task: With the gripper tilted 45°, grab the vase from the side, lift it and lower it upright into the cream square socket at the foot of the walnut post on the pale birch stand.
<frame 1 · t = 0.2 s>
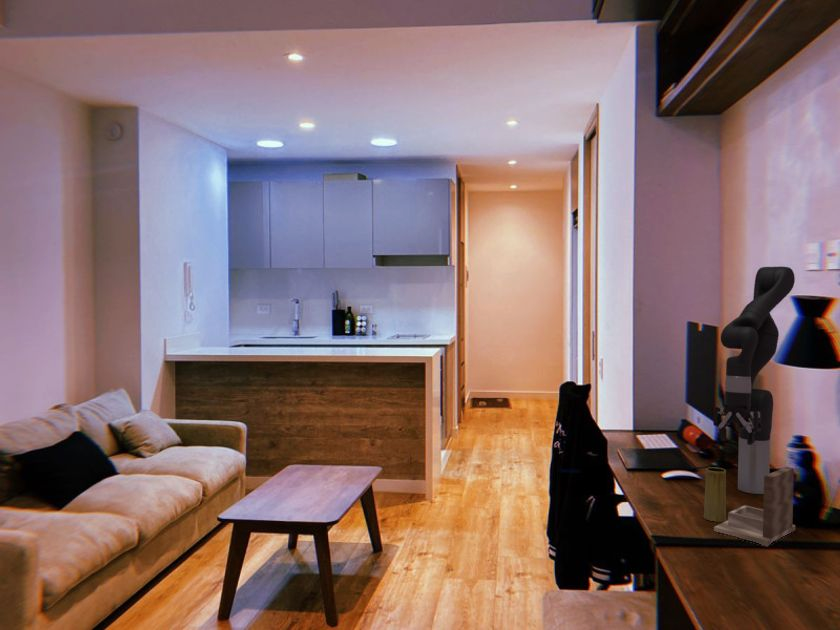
hand: (736, 442, 219), 18 cm above the table, tool pointing down, fingers open, 8 cm apart
vase: (714, 519, 201), on the table
post stand: (754, 531, 191), on the table
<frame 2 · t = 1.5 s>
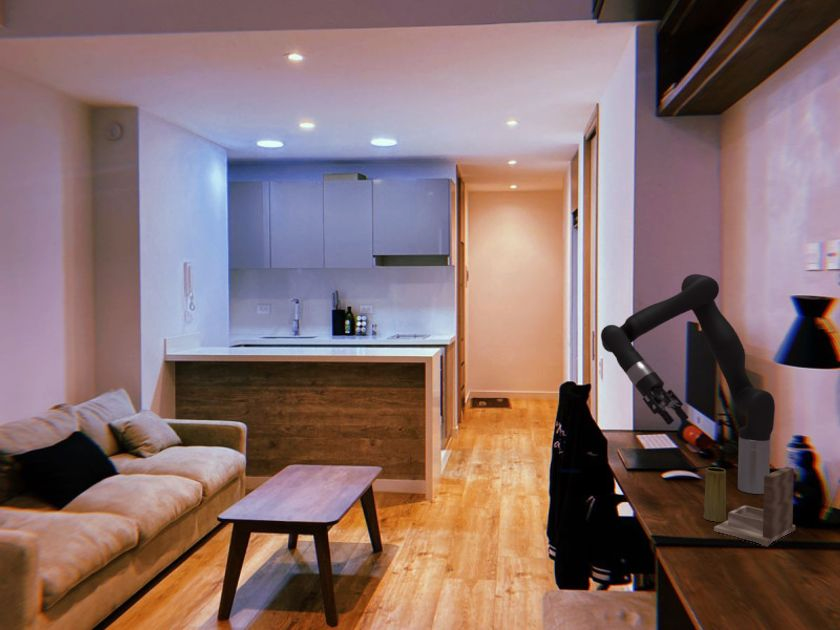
hand: (678, 421, 209), 26 cm above the table, tool tilted 45°, fingers open, 8 cm apart
nothing on the table moved.
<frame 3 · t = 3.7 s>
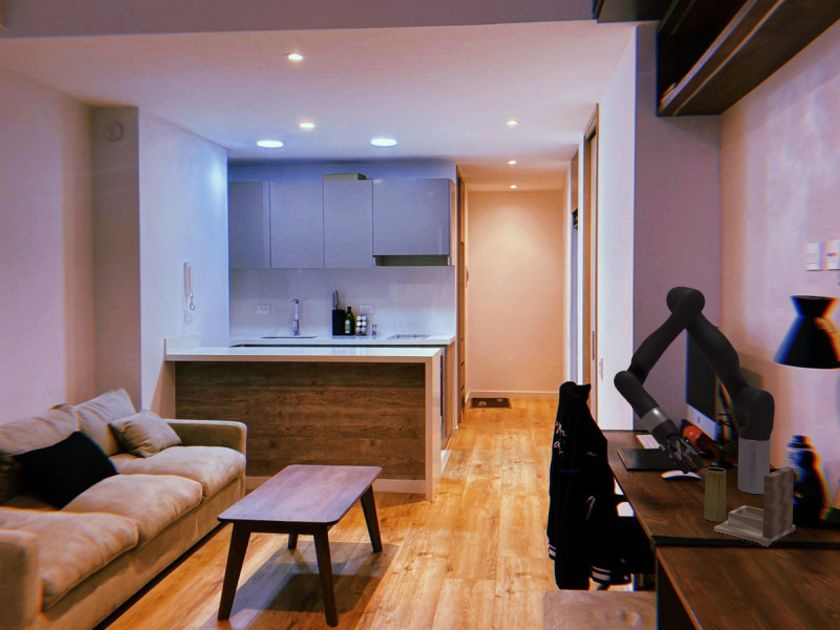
hand: (695, 470, 205), 13 cm above the table, tool tilted 45°, fingers open, 8 cm apart
nothing on the table moved.
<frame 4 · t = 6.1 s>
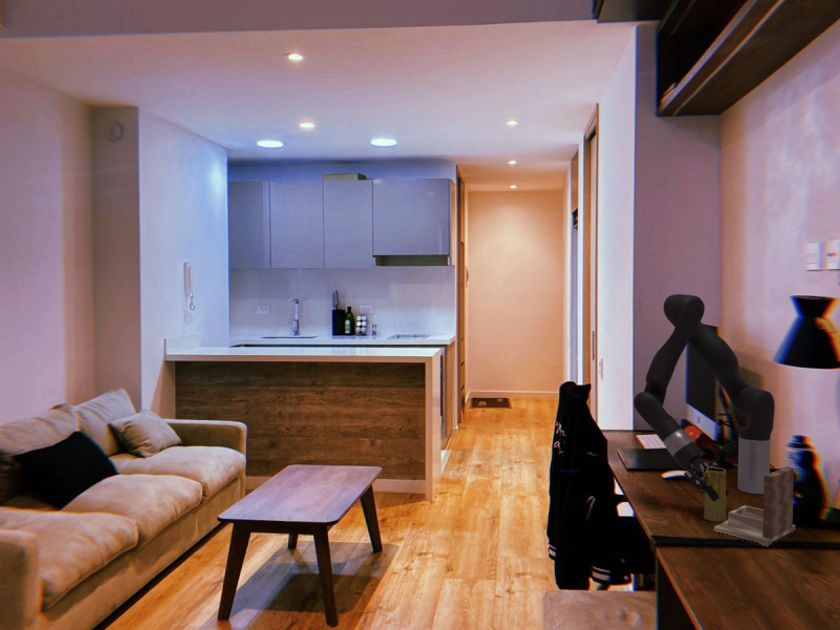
hand: (721, 497, 200), 7 cm above the table, tool tilted 45°, fingers closed on vase, 5 cm apart
vase: (714, 519, 201), on the table, touching gripper
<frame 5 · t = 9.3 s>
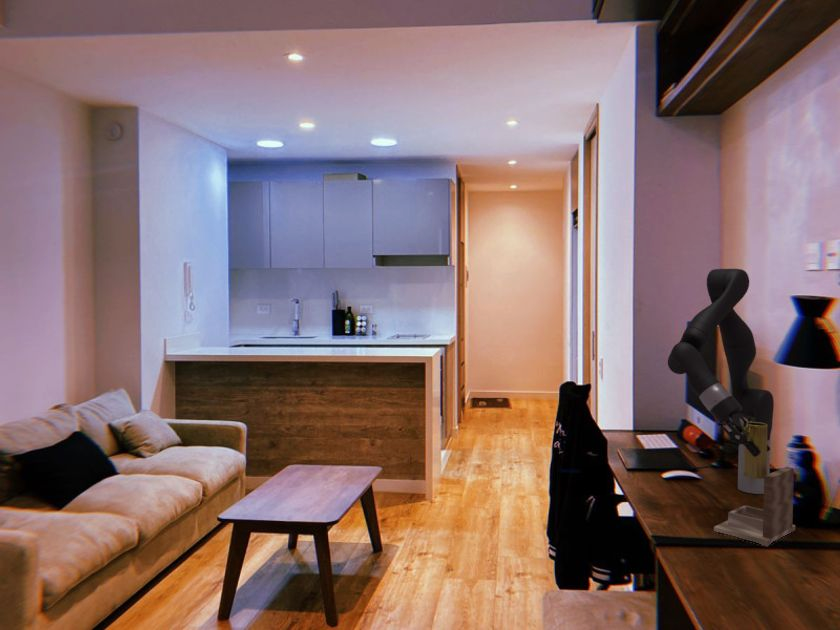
hand: (762, 452, 189), 22 cm above the table, tool tilted 45°, fingers closed on vase, 5 cm apart
vase: (755, 476, 191), point 15 cm above the table, touching gripper
when the fingers open (9 cm above the table, at t = 12.6 s): vase drops 1 cm, resting on post stand.
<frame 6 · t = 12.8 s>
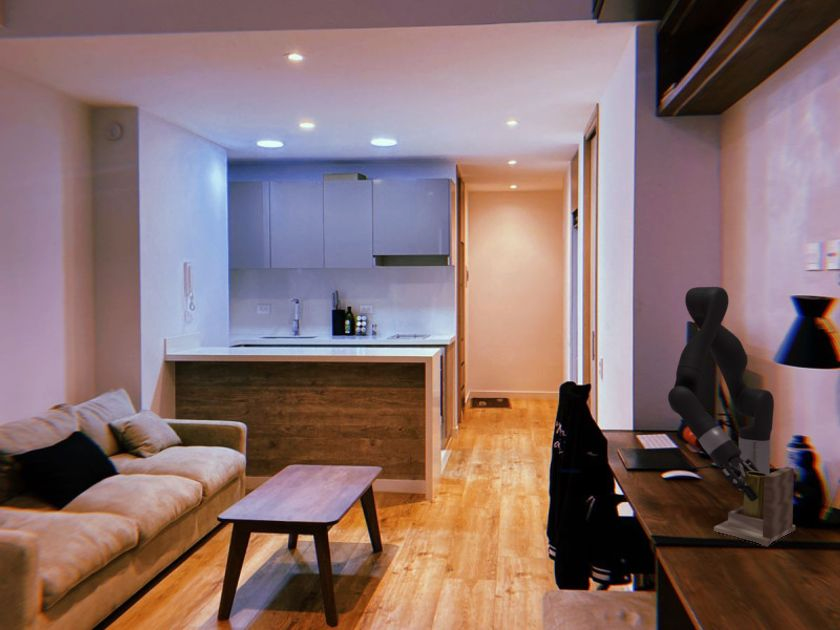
hand: (761, 497, 189), 10 cm above the table, tool tilted 45°, fingers open, 7 cm apart
vase: (753, 526, 191), point 1 cm above the table, touching post stand
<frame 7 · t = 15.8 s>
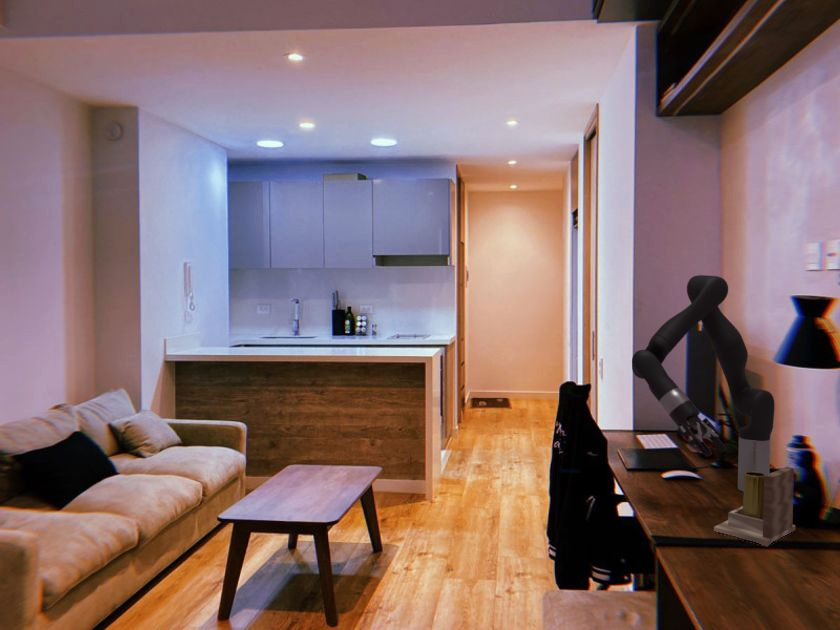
hand: (716, 452, 198), 20 cm above the table, tool tilted 45°, fingers open, 8 cm apart
nothing on the table moved.
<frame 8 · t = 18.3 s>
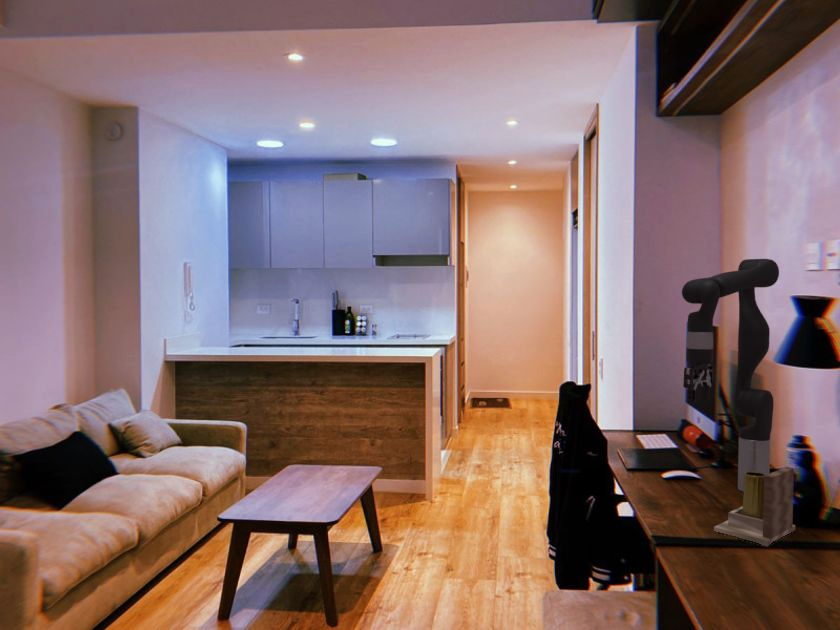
hand: (698, 400, 211), 32 cm above the table, tool pointing down, fingers open, 8 cm apart
nothing on the table moved.
at the end: vase 0.2 cm off-centre on the post stand, point 1.3 cm above the post stand's base; vase tilted 0°; the gripper is holding nothing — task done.
